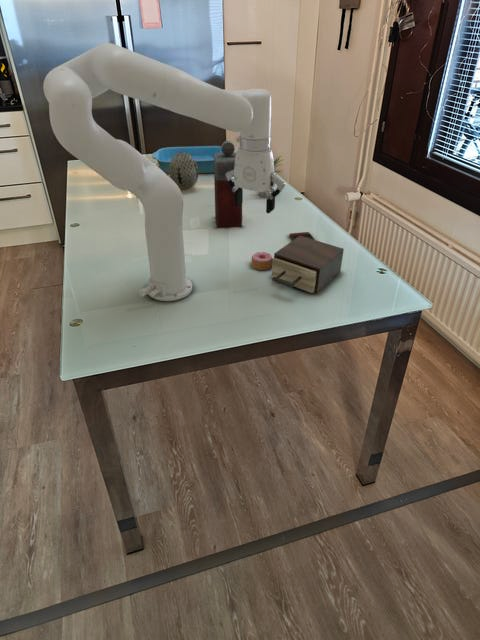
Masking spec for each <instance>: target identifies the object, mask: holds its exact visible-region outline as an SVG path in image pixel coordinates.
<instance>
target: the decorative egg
mask: <svg viewBox="0 0 480 640" xmlns="http://www.w3.org/2000/svg"><path fill="white" fill-rule="evenodd" d="M168 176H169V177H170V178H171V179H172V180H173V181H174V182H175V183H176V184H177V186H178V187H179V189H180V190H183V191H187V190H190V189H192V188H193V187H194V186H195V185H196V184H197V182H198V178H199V173H198V168H197V165H196V162H195V160H194V159H193V157H192V156H191V155H189V154H188V153H185V152H179V153H177V154H176V155H175V156H174V157H173V158H172V160H171V162H170V167H169V174H168Z"/></svg>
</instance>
